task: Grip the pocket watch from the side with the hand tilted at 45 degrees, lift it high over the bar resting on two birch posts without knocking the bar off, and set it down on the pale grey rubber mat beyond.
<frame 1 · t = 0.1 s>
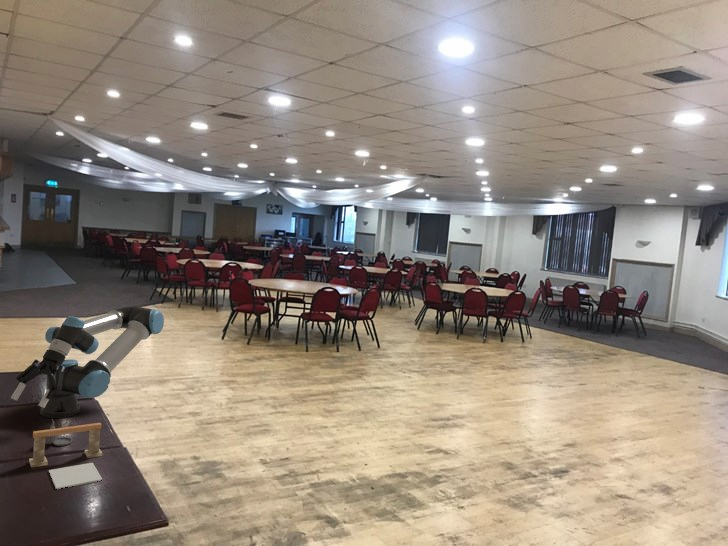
hand: (27, 403, 209), 15 cm above the table, tool tilted 35°, fingers open, 13 cm apart
posts: (66, 458, 201), on the table
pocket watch: (58, 443, 212), on the table
bar: (68, 432, 200), point 10 cm above the table, touching posts
mat: (75, 476, 189), on the table
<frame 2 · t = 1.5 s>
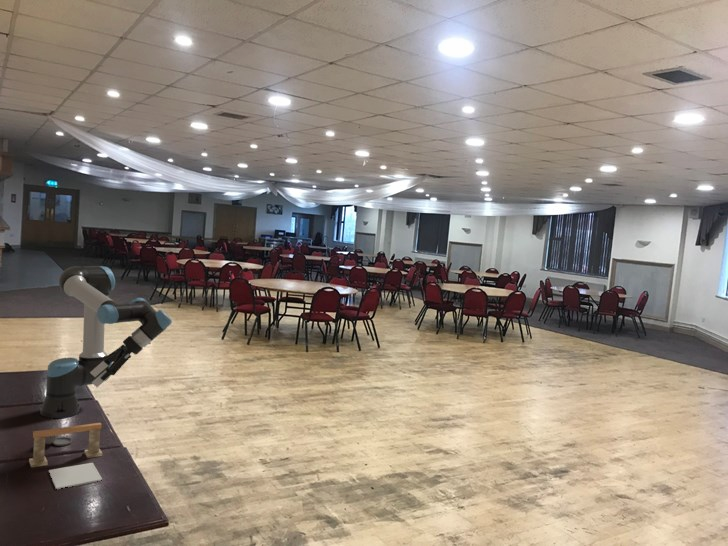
hand: (93, 379, 215), 25 cm above the table, tool tilted 45°, fingers open, 13 cm apart
nothing on the table moved.
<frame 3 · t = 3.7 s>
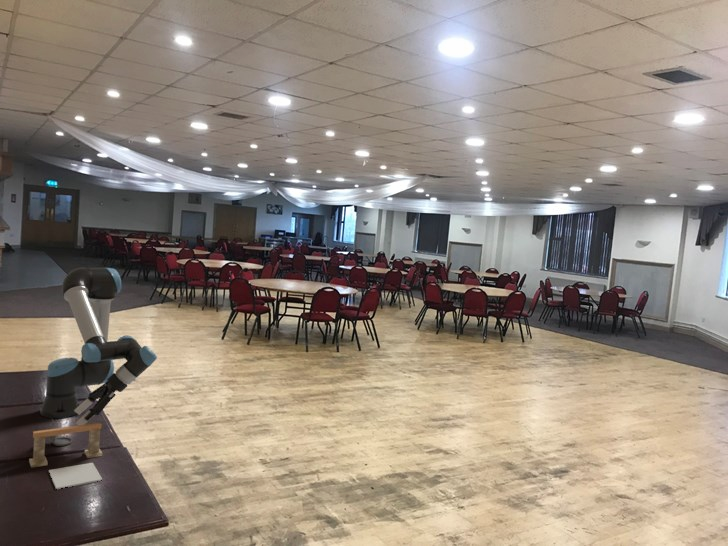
hand: (77, 418, 213), 10 cm above the table, tool tilted 45°, fingers open, 13 cm apart
nothing on the table moved.
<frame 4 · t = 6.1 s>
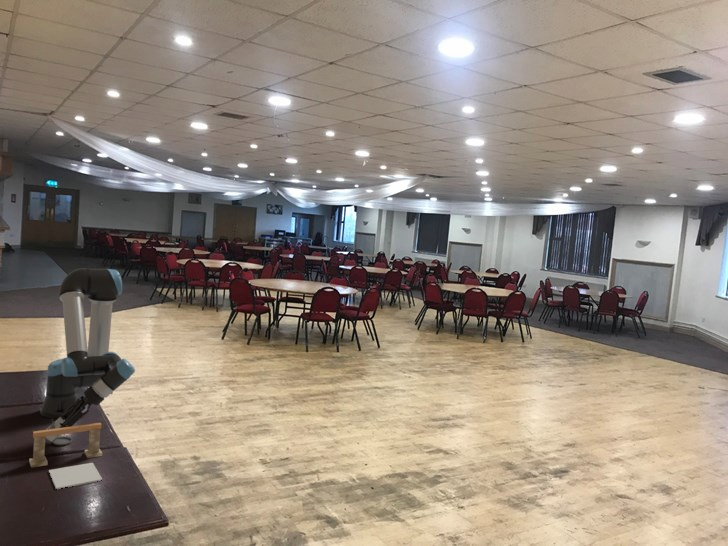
hand: (48, 435, 210), 4 cm above the table, tool tilted 45°, fingers closed on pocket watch, 7 cm apart
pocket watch: (58, 443, 212), on the table, touching gripper
everything else where it was.
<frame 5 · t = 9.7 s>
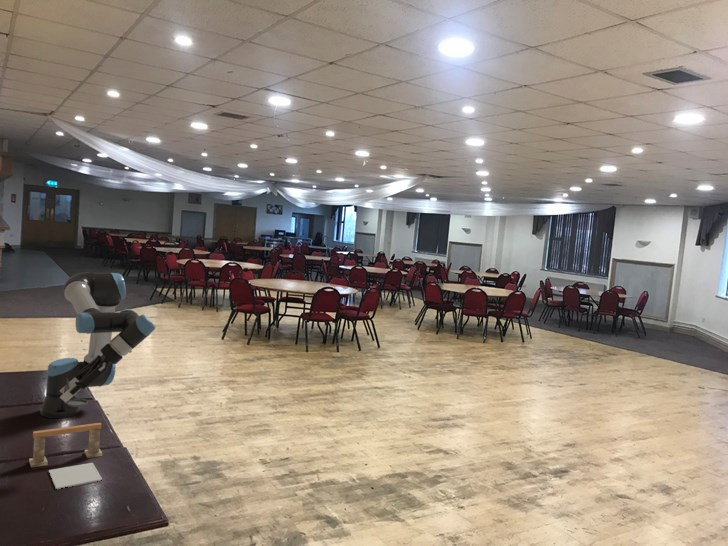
hand: (62, 396, 192), 26 cm above the table, tool tilted 45°, fingers closed on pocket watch, 7 cm apart
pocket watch: (73, 405, 195), point 22 cm above the table, touching gripper
everything else where it was.
when the fingers open (5 cm above the table, at t = 13.3 s): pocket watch stays where it is, resting on mat.
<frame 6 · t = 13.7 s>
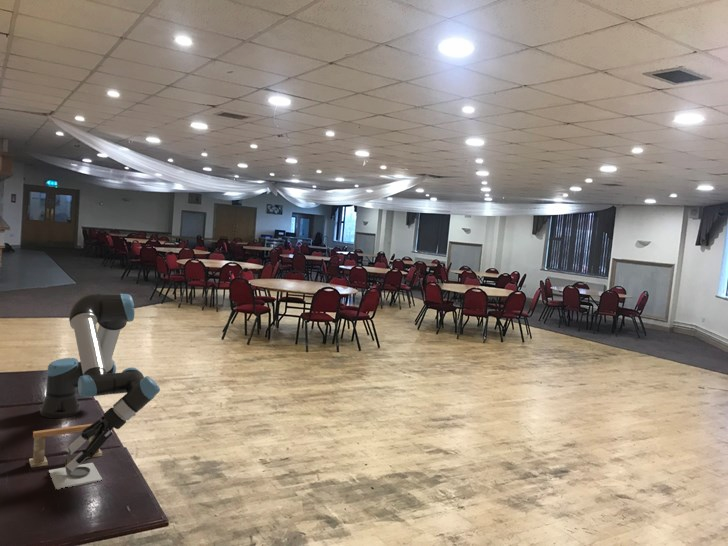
hand: (68, 460, 187), 6 cm above the table, tool tilted 45°, fingers open, 13 cm apart
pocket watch: (75, 474, 189), resting on mat
everything else where it was.
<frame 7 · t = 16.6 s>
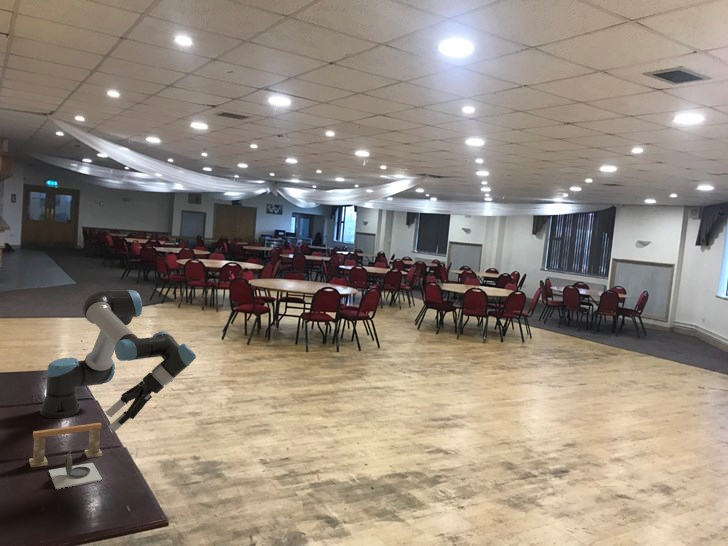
hand: (109, 421, 194), 18 cm above the table, tool tilted 45°, fingers open, 13 cm apart
nothing on the table moved.
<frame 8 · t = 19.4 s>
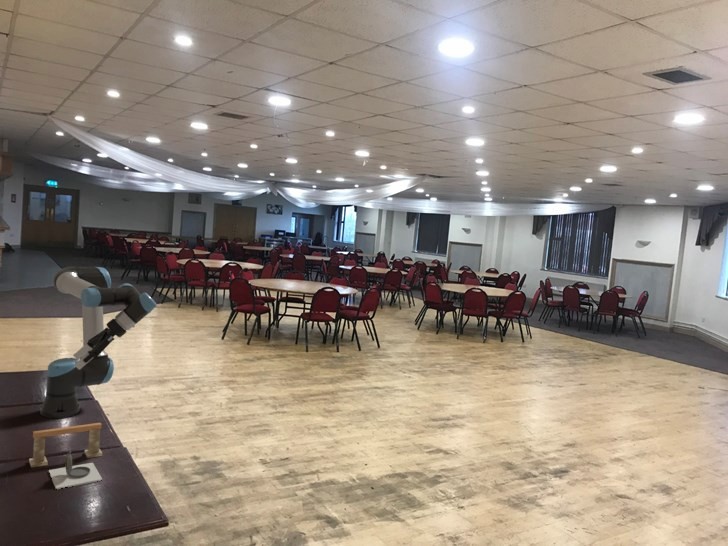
hand: (75, 362, 212), 32 cm above the table, tool tilted 45°, fingers open, 13 cm apart
nothing on the table moved.
at the end: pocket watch inside the target area on the mat (0.4 cm from its centre), point 0.4 cm above the mat's base; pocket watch tilted 0°; bar moved 0.0 cm from its start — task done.
